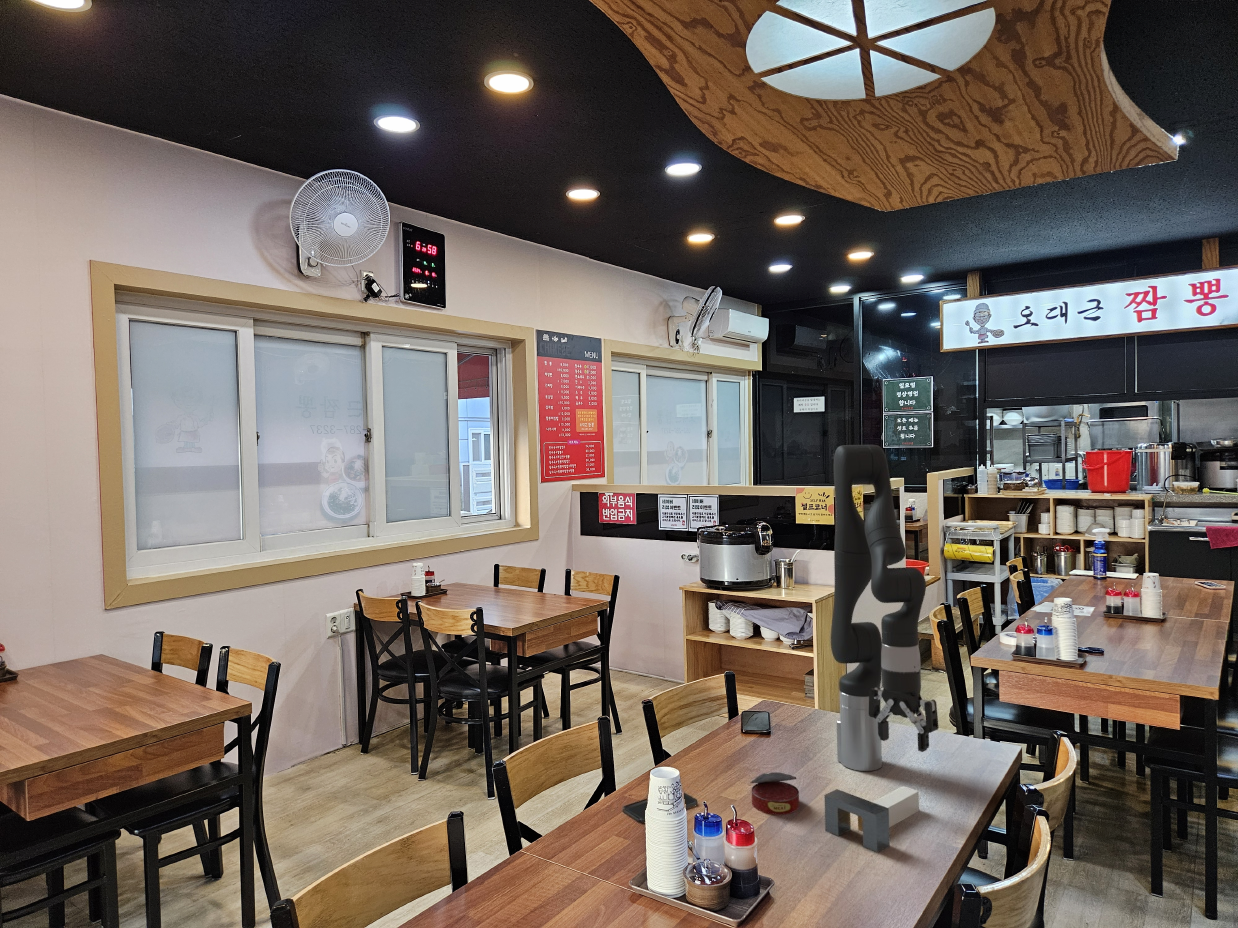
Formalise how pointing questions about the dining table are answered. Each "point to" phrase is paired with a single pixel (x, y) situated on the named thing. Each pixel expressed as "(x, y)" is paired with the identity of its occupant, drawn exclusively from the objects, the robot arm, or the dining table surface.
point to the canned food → (775, 794)
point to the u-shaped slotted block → (871, 813)
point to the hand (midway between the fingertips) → (903, 745)
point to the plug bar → (897, 805)
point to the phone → (638, 808)
